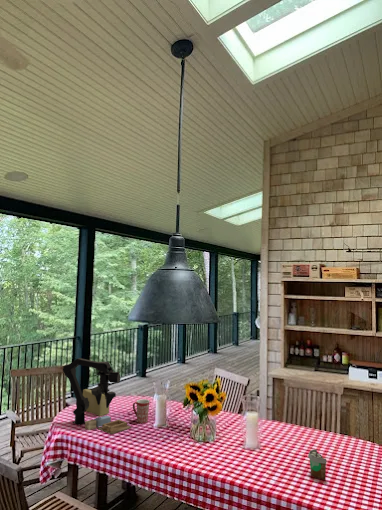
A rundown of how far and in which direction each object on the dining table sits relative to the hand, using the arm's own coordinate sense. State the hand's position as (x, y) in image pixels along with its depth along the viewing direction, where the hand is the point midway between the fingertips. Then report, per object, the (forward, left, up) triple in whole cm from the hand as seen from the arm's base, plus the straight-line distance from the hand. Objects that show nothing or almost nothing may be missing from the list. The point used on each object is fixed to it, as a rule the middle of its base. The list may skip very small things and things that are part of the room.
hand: (102, 406), depth 260 cm
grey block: (0, 0, -12) cm, 12 cm away
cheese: (-26, +12, -12) cm, 31 cm away
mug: (+12, +22, -12) cm, 28 cm away
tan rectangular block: (0, -9, -12) cm, 15 cm away
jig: (+11, +1, -12) cm, 16 cm away
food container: (+132, +26, -12) cm, 136 cm away
